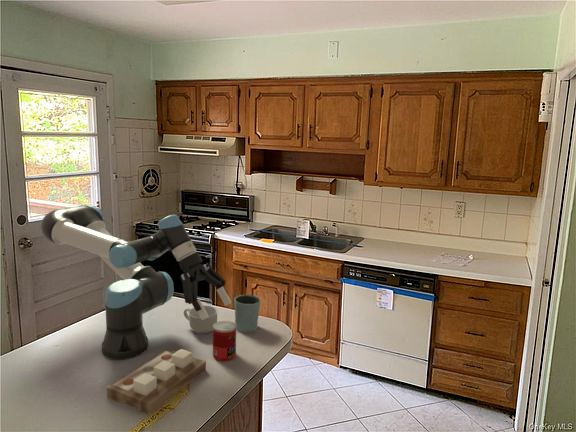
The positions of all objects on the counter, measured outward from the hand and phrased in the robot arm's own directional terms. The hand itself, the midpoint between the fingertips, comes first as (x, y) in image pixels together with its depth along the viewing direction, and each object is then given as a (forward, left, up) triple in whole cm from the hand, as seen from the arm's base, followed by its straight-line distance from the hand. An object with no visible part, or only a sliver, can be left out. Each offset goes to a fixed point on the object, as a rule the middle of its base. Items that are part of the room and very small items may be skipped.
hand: (217, 311), depth 145 cm
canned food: (+3, 0, -16) cm, 16 cm away
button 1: (-3, -31, -13) cm, 34 cm away
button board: (-5, -23, -15) cm, 28 cm away
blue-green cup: (-1, +22, -16) cm, 27 cm away
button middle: (-3, -23, -14) cm, 27 cm away
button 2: (-3, -15, -14) cm, 21 cm away
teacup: (-16, +12, -16) cm, 25 cm away
